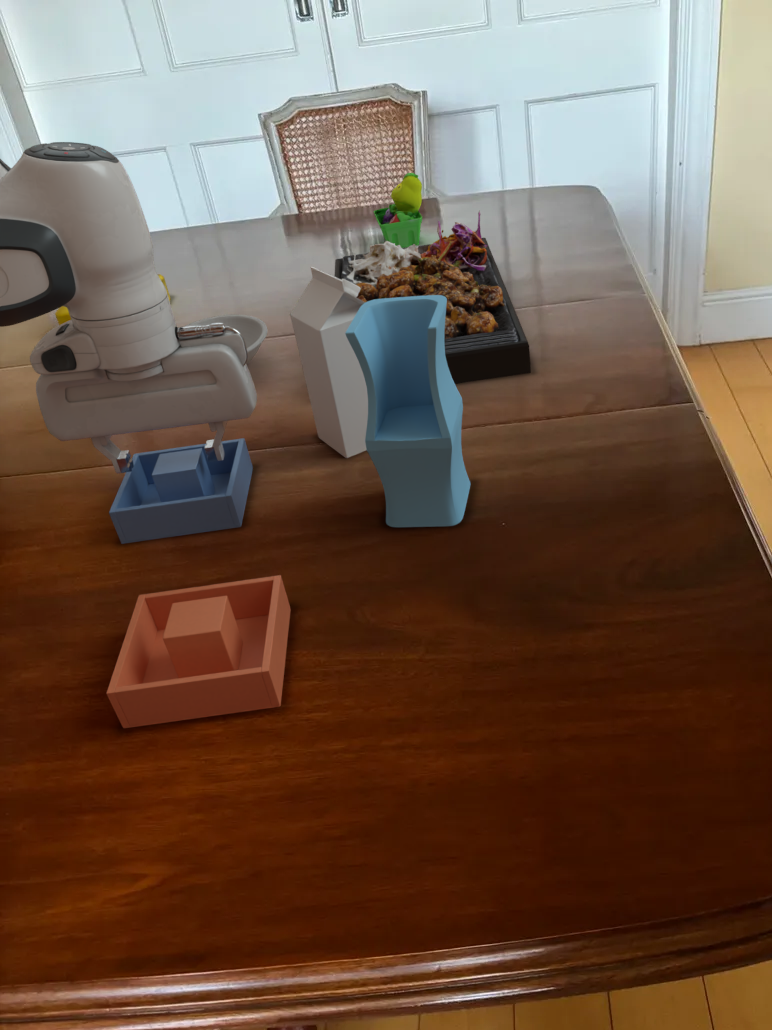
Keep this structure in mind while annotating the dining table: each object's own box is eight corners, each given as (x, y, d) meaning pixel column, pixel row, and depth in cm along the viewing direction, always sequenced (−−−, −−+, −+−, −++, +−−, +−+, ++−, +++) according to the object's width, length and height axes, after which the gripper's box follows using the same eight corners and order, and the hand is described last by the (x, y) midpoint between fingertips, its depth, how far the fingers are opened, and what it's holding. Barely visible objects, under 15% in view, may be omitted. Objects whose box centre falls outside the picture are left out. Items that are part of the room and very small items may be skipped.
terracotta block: (181, 686, 71) (162, 638, 68) (190, 649, 75) (172, 602, 72) (237, 678, 71) (220, 630, 68) (243, 642, 75) (227, 595, 72)
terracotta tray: (125, 732, 69) (105, 693, 66) (154, 632, 78) (138, 594, 76) (281, 711, 69) (268, 670, 66) (291, 613, 78) (280, 574, 76)
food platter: (340, 286, 147) (327, 221, 140) (488, 265, 147) (482, 198, 140) (335, 404, 111) (318, 324, 105) (531, 376, 111) (525, 293, 105)
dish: (174, 359, 130) (163, 325, 127) (272, 340, 131) (264, 306, 128) (169, 409, 116) (157, 373, 113) (279, 387, 117) (270, 351, 114)
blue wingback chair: (382, 532, 87) (344, 333, 75) (397, 489, 93) (363, 299, 81) (462, 530, 85) (436, 327, 73) (472, 487, 92) (449, 293, 79)
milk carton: (347, 462, 99) (310, 291, 87) (318, 440, 104) (280, 276, 92) (401, 439, 102) (373, 271, 90) (371, 419, 107) (340, 257, 95)
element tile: (60, 342, 141) (49, 312, 138) (88, 309, 153) (77, 281, 150) (153, 330, 141) (144, 300, 138) (174, 298, 152) (165, 269, 149)
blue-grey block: (166, 517, 93) (151, 475, 90) (173, 494, 96) (159, 453, 93) (209, 511, 93) (195, 468, 90) (215, 489, 96) (202, 447, 93)
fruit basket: (377, 238, 166) (366, 173, 160) (423, 230, 167) (415, 165, 160) (384, 255, 157) (373, 187, 150) (433, 247, 158) (425, 178, 151)
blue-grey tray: (122, 547, 90) (108, 512, 88) (146, 486, 100) (133, 453, 97) (242, 530, 90) (231, 495, 88) (254, 471, 100) (244, 437, 97)
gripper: (243, 308, 86) (274, 437, 94) (31, 334, 86) (81, 461, 94) (235, 332, 81) (269, 466, 89) (11, 360, 81) (65, 492, 89)
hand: (171, 464), depth 92 cm, fingers open, 8 cm apart
